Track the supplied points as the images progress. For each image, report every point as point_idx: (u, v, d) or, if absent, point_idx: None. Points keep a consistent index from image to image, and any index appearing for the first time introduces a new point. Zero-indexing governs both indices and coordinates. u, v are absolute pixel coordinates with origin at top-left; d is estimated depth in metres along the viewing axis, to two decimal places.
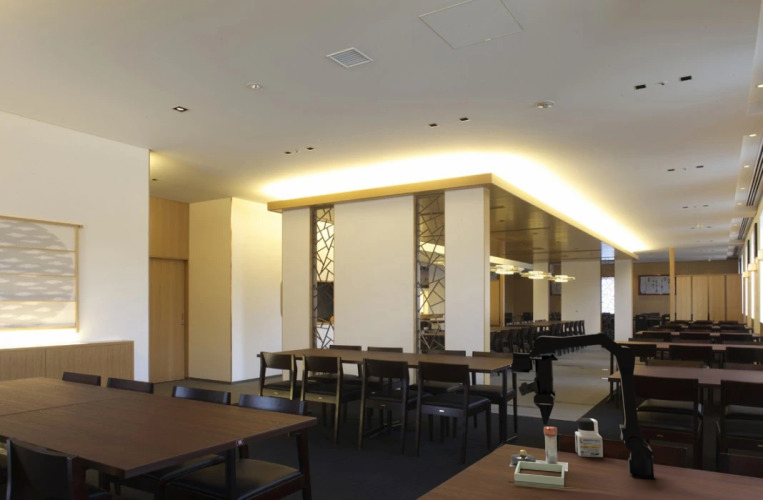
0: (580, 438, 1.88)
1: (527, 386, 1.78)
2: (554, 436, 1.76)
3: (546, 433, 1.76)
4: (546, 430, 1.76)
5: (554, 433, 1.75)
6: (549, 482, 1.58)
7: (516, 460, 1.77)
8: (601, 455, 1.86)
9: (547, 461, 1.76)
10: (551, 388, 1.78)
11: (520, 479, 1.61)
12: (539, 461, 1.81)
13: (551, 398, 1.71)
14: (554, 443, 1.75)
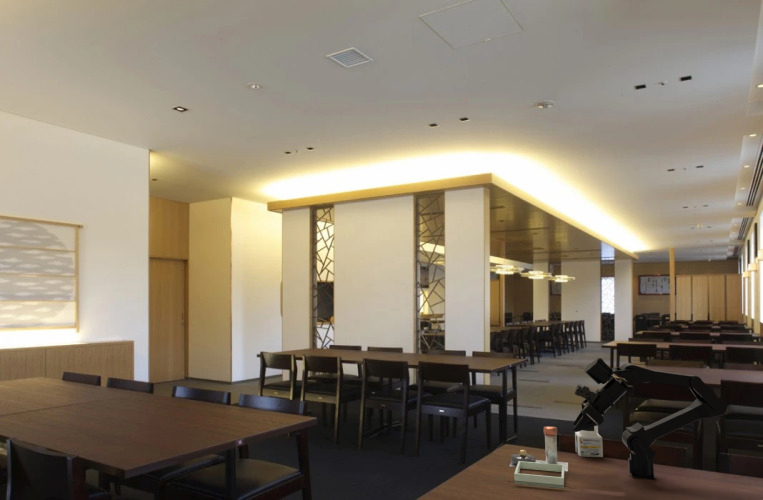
0: (580, 438, 1.88)
1: (587, 392, 1.71)
2: (554, 436, 1.76)
3: (546, 433, 1.76)
4: (546, 430, 1.76)
5: (554, 433, 1.75)
6: (549, 482, 1.58)
7: (516, 460, 1.77)
8: (601, 455, 1.86)
9: (547, 461, 1.76)
10: (604, 410, 1.71)
11: (520, 479, 1.61)
12: (539, 461, 1.81)
13: (601, 420, 1.64)
14: (554, 443, 1.75)
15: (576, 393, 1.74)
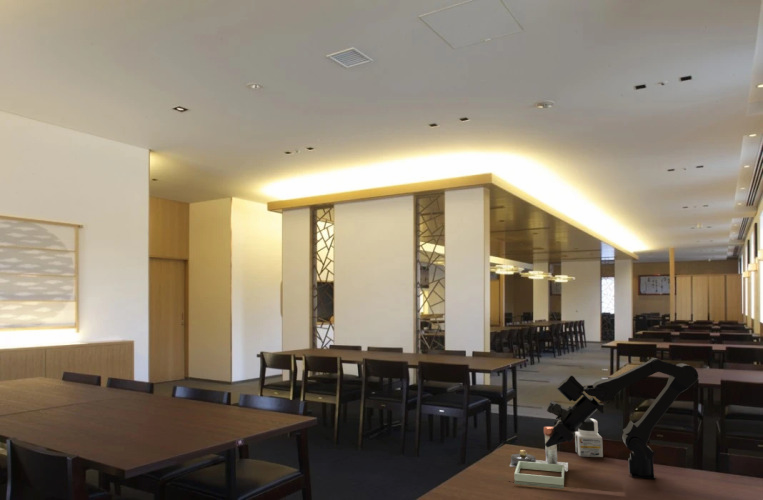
0: (580, 438, 1.88)
1: (559, 409, 1.73)
2: None
3: (546, 433, 1.76)
4: (546, 430, 1.76)
5: None
6: (549, 482, 1.58)
7: (516, 460, 1.77)
8: (601, 455, 1.86)
9: (547, 461, 1.76)
10: (576, 427, 1.73)
11: (520, 479, 1.61)
12: (539, 461, 1.81)
13: (571, 437, 1.67)
14: None
15: (548, 410, 1.76)
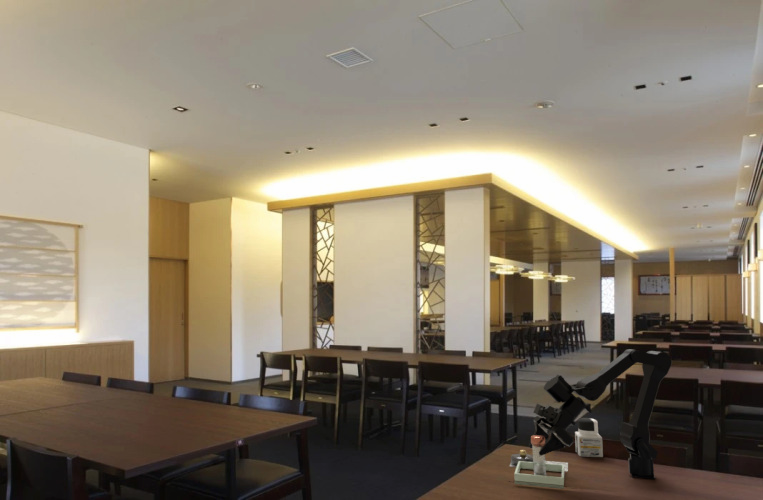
0: (580, 438, 1.88)
1: (553, 412, 1.64)
2: None
3: (536, 443, 1.65)
4: (536, 440, 1.65)
5: (544, 442, 1.65)
6: (549, 482, 1.58)
7: (516, 460, 1.77)
8: (601, 455, 1.86)
9: (537, 473, 1.64)
10: (565, 430, 1.66)
11: (520, 479, 1.61)
12: None
13: (572, 441, 1.58)
14: None
15: (539, 414, 1.65)
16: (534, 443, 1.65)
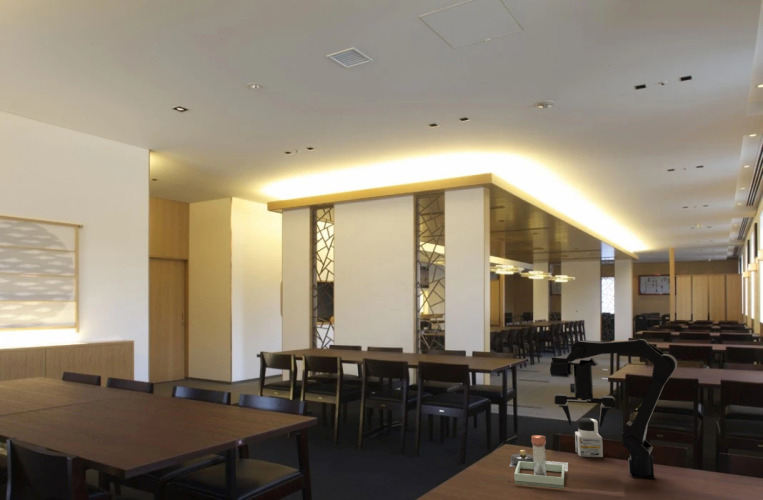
0: (580, 438, 1.88)
1: (570, 387, 1.86)
2: (544, 445, 1.66)
3: (537, 443, 1.65)
4: (537, 440, 1.65)
5: (544, 442, 1.65)
6: (549, 482, 1.58)
7: (516, 460, 1.77)
8: (601, 455, 1.86)
9: (537, 473, 1.64)
10: (578, 393, 1.78)
11: (520, 479, 1.61)
12: None
13: (555, 398, 1.80)
14: (544, 453, 1.65)
15: None
16: (535, 443, 1.65)
